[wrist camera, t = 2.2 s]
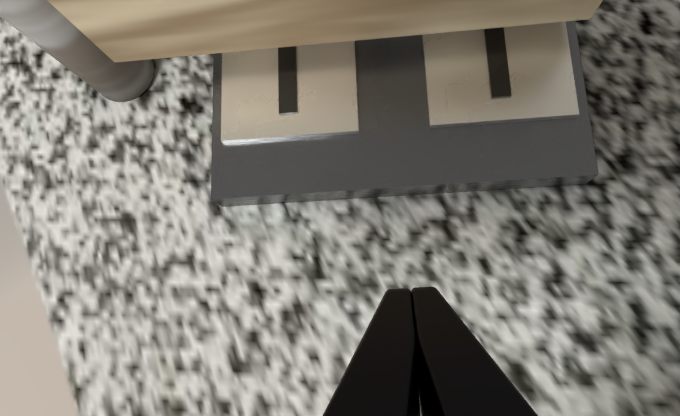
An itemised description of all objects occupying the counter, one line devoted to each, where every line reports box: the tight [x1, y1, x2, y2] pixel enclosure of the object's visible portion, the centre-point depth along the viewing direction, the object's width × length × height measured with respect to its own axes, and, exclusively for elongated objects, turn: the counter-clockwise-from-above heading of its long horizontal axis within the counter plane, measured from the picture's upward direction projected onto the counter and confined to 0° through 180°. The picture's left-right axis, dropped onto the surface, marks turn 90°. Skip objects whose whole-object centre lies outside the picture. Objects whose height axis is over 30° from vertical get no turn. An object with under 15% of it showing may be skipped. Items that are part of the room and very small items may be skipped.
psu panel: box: [211, 21, 598, 207], centre depth 23 cm, size 12×16×2 cm
